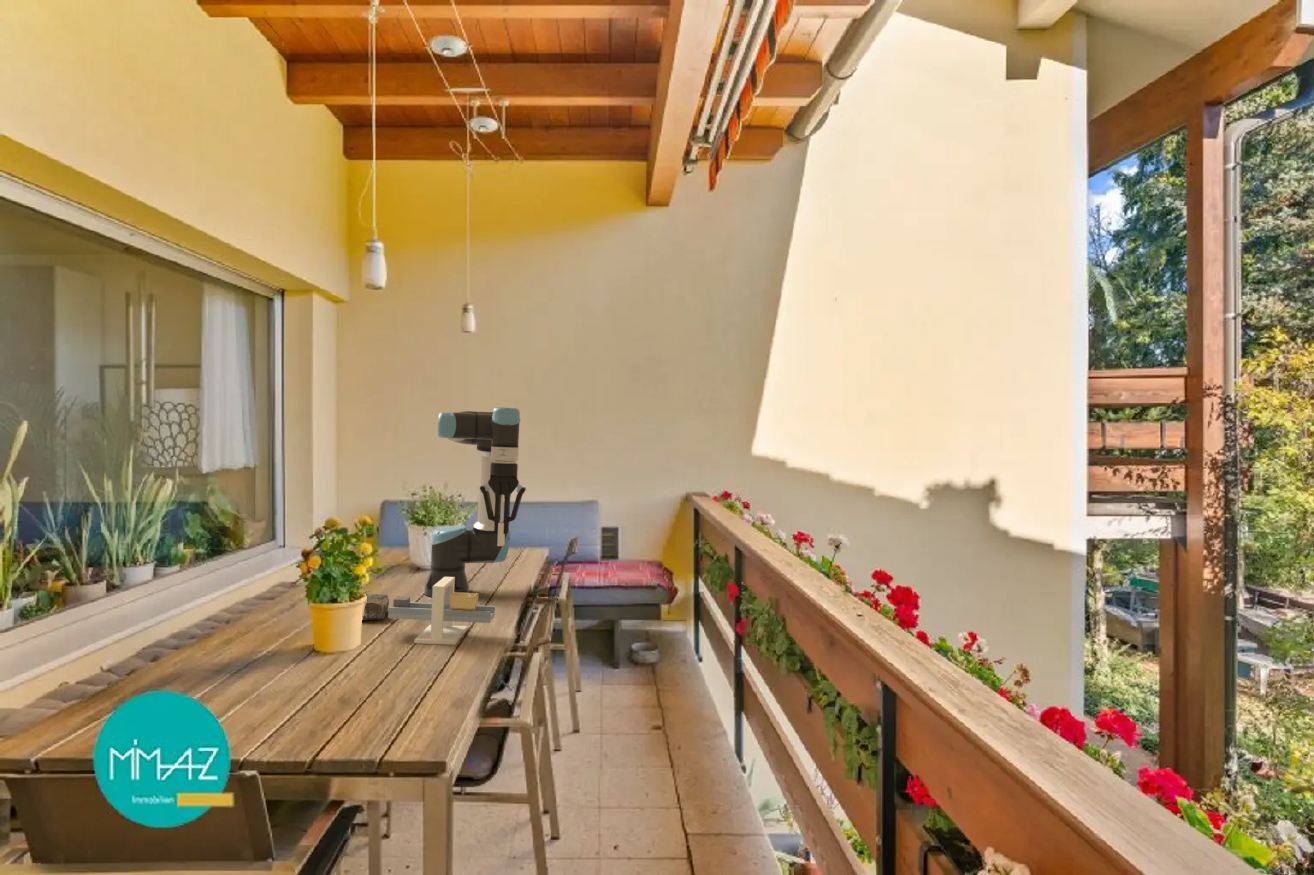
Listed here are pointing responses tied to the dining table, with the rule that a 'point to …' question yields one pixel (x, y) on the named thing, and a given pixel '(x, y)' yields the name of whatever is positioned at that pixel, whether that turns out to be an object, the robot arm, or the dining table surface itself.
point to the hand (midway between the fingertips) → (500, 545)
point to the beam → (424, 611)
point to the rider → (464, 601)
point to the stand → (441, 618)
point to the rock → (376, 606)
